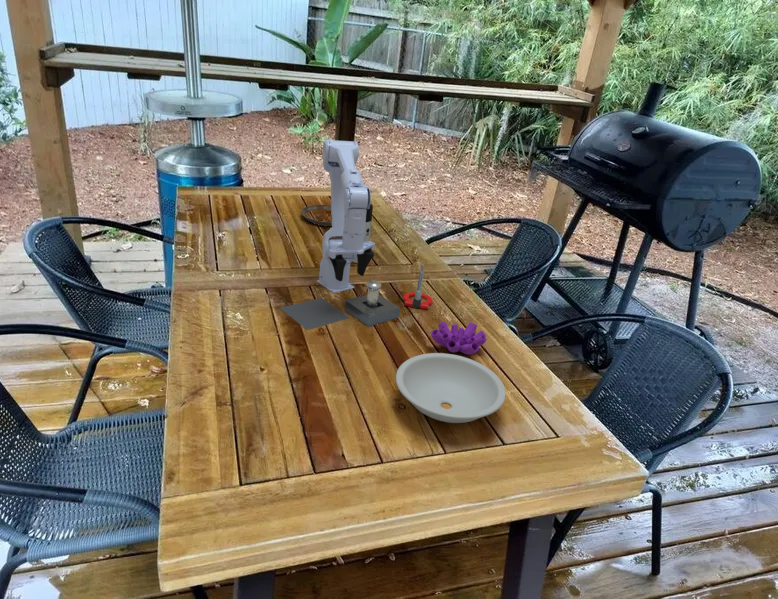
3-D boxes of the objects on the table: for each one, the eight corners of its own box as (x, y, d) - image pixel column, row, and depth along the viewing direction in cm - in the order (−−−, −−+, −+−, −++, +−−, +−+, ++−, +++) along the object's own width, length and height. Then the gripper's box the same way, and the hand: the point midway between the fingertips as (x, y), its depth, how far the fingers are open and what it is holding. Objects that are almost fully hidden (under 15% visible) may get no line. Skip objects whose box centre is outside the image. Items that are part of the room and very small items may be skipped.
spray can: (345, 260, 193) (349, 204, 184) (353, 254, 199) (358, 200, 190) (362, 265, 191) (368, 209, 182) (370, 259, 197) (376, 204, 188)
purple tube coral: (482, 364, 149) (494, 351, 140) (427, 362, 147) (435, 349, 138) (478, 325, 154) (489, 310, 145) (425, 322, 152) (433, 307, 143)
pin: (360, 313, 159) (364, 282, 155) (371, 310, 162) (375, 279, 158) (369, 319, 157) (373, 287, 152) (380, 316, 159) (384, 284, 155)
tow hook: (404, 293, 176) (400, 306, 167) (410, 252, 170) (407, 262, 161) (433, 298, 175) (430, 311, 166) (440, 257, 169) (438, 267, 160)
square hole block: (344, 311, 160) (345, 300, 158) (374, 302, 167) (375, 292, 165) (368, 327, 153) (369, 316, 151) (398, 318, 159) (400, 307, 158)
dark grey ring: (349, 231, 221) (350, 223, 219) (297, 225, 220) (297, 217, 219) (353, 215, 239) (353, 207, 238) (304, 210, 238) (305, 202, 237)
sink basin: (488, 457, 111) (495, 431, 108) (376, 421, 118) (380, 395, 115) (507, 393, 132) (513, 370, 129) (411, 365, 138) (415, 342, 135)
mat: (279, 309, 156) (279, 308, 156) (321, 298, 165) (321, 297, 165) (306, 331, 147) (307, 330, 147) (349, 319, 156) (349, 317, 156)
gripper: (341, 240, 143) (337, 288, 149) (383, 232, 152) (378, 277, 158) (325, 231, 147) (322, 278, 154) (367, 224, 157) (363, 268, 163)
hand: (349, 277), depth 156 cm, fingers open, 7 cm apart
